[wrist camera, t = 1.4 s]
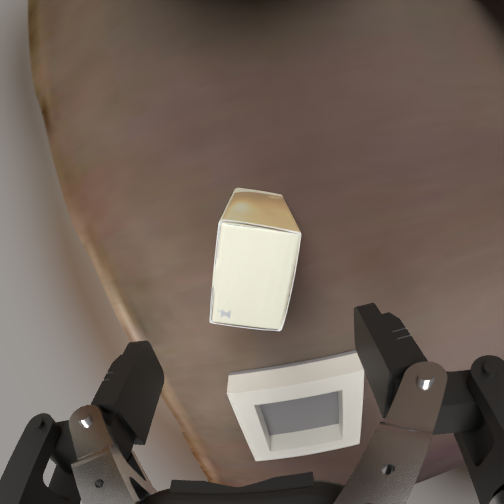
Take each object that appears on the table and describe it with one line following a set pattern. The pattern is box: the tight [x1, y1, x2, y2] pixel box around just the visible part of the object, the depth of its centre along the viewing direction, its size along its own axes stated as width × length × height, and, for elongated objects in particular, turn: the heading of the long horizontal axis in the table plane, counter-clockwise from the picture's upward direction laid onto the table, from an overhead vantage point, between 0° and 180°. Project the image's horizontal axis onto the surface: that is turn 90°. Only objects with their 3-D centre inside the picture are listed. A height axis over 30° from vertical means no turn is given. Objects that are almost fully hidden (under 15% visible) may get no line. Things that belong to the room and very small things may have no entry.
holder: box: [227, 350, 364, 461], centre depth 34 cm, size 15×16×4 cm
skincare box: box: [210, 188, 301, 331], centre depth 22 cm, size 6×4×12 cm
